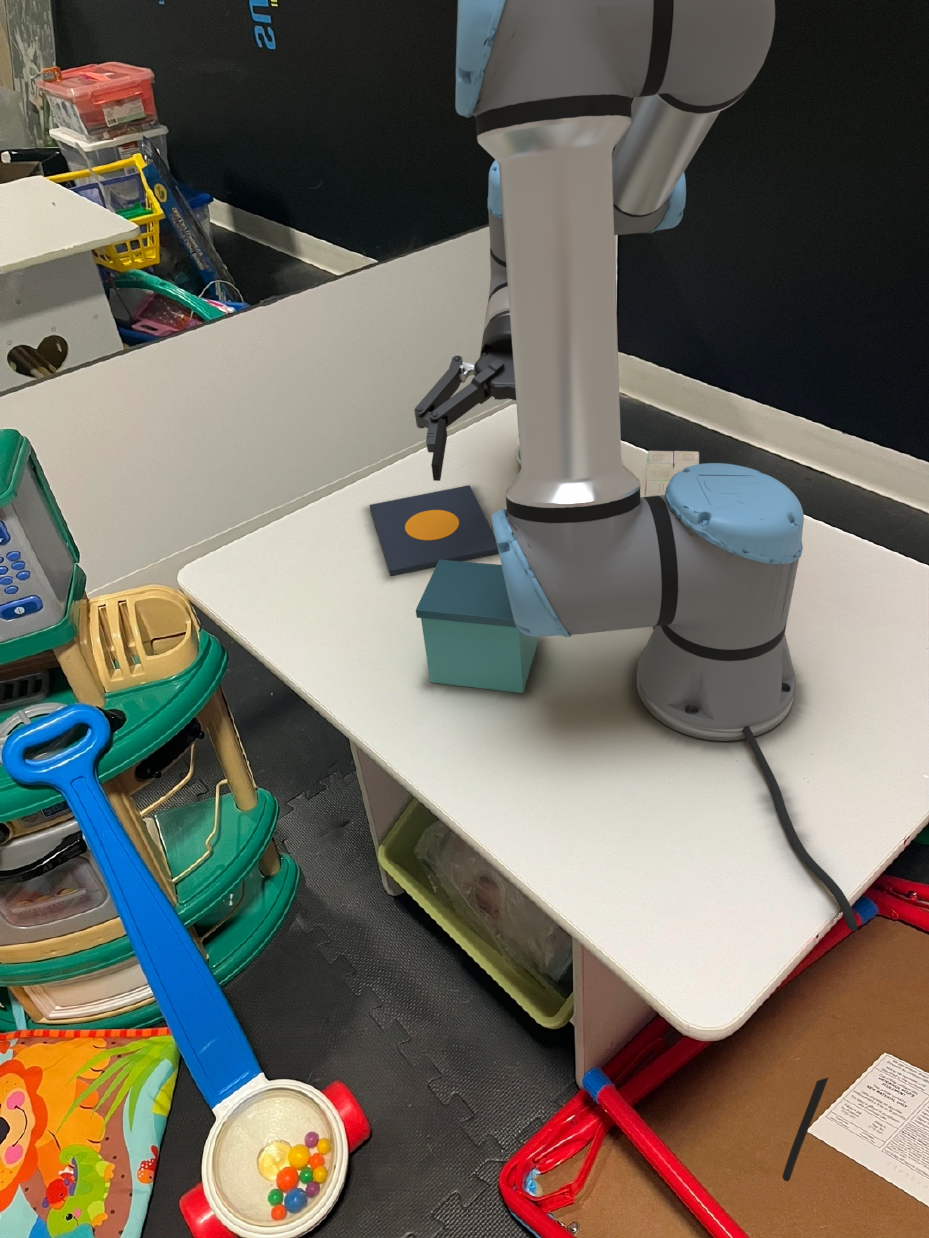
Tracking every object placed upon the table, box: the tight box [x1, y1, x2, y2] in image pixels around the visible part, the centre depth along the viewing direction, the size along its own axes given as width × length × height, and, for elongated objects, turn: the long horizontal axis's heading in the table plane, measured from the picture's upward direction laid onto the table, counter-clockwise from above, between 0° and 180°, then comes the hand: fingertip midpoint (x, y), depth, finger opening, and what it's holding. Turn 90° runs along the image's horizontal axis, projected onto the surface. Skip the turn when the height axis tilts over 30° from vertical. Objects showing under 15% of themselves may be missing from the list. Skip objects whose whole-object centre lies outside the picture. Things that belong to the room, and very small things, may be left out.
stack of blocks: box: [644, 450, 700, 497], centre depth 105 cm, size 21×6×12 cm, turn 169°
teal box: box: [415, 560, 539, 694], centre depth 95 cm, size 9×11×10 cm
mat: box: [369, 484, 499, 577], centre depth 118 cm, size 16×14×1 cm
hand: (498, 476), depth 99 cm, fingers open, 13 cm apart
